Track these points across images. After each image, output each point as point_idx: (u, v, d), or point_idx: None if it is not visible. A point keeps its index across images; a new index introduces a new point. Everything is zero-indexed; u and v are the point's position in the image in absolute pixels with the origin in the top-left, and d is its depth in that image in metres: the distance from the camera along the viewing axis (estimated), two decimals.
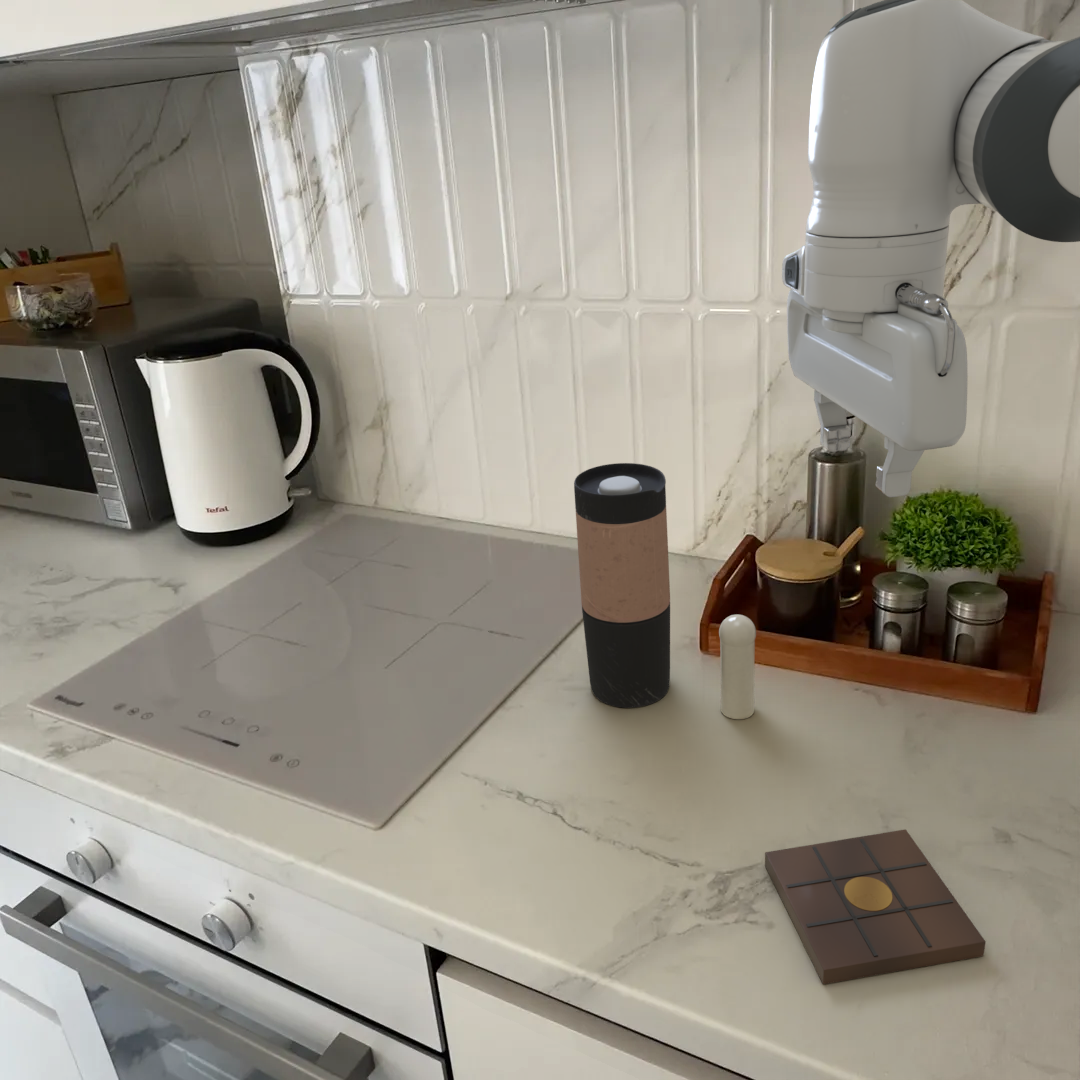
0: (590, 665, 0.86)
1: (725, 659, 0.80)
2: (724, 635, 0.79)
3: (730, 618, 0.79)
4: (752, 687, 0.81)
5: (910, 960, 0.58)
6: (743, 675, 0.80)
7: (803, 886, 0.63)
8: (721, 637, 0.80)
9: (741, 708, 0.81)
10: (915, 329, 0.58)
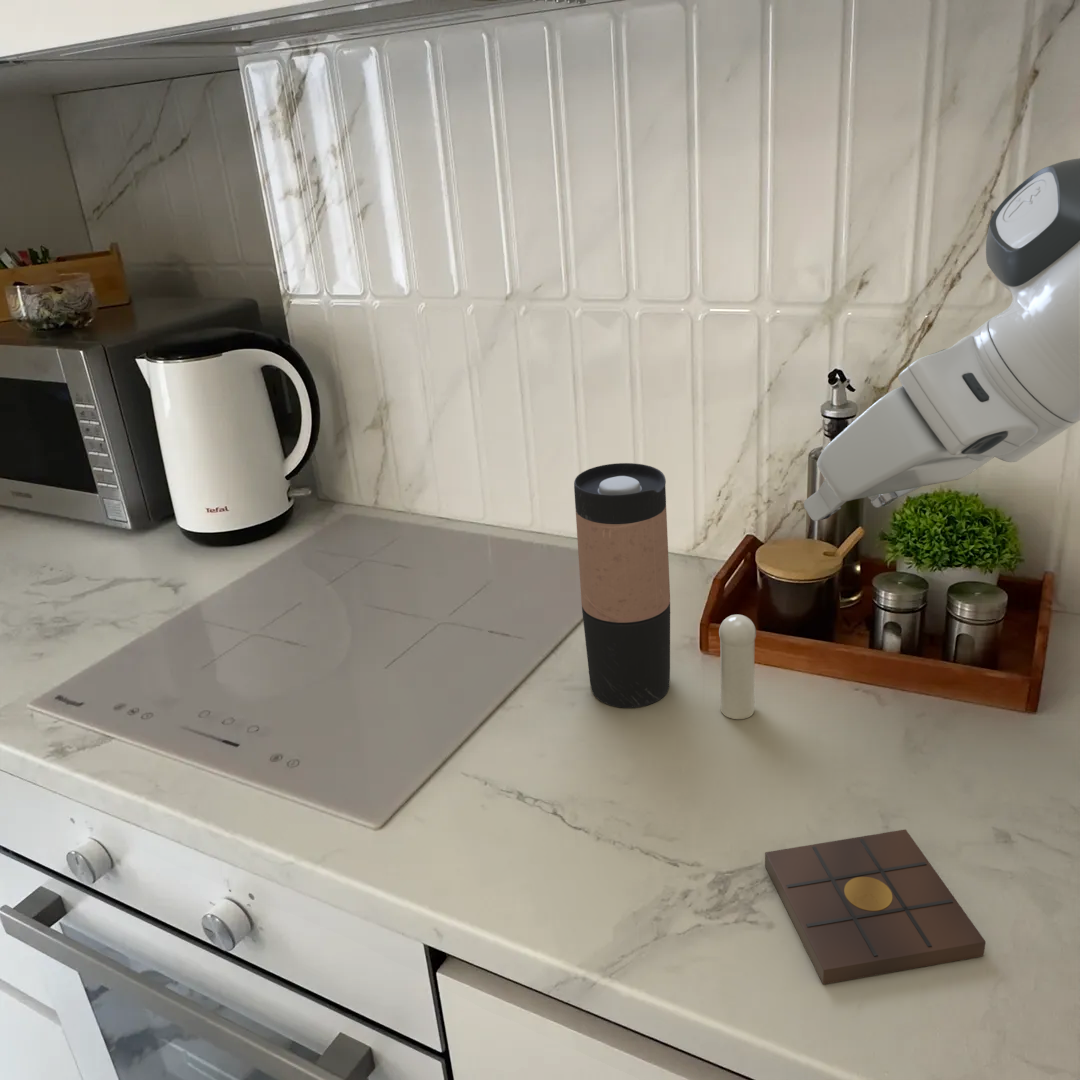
0: (590, 665, 0.86)
1: (725, 659, 0.80)
2: (724, 635, 0.79)
3: (730, 618, 0.79)
4: (752, 687, 0.81)
5: (910, 960, 0.58)
6: (743, 675, 0.80)
7: (803, 886, 0.63)
8: (721, 637, 0.80)
9: (741, 708, 0.81)
10: None
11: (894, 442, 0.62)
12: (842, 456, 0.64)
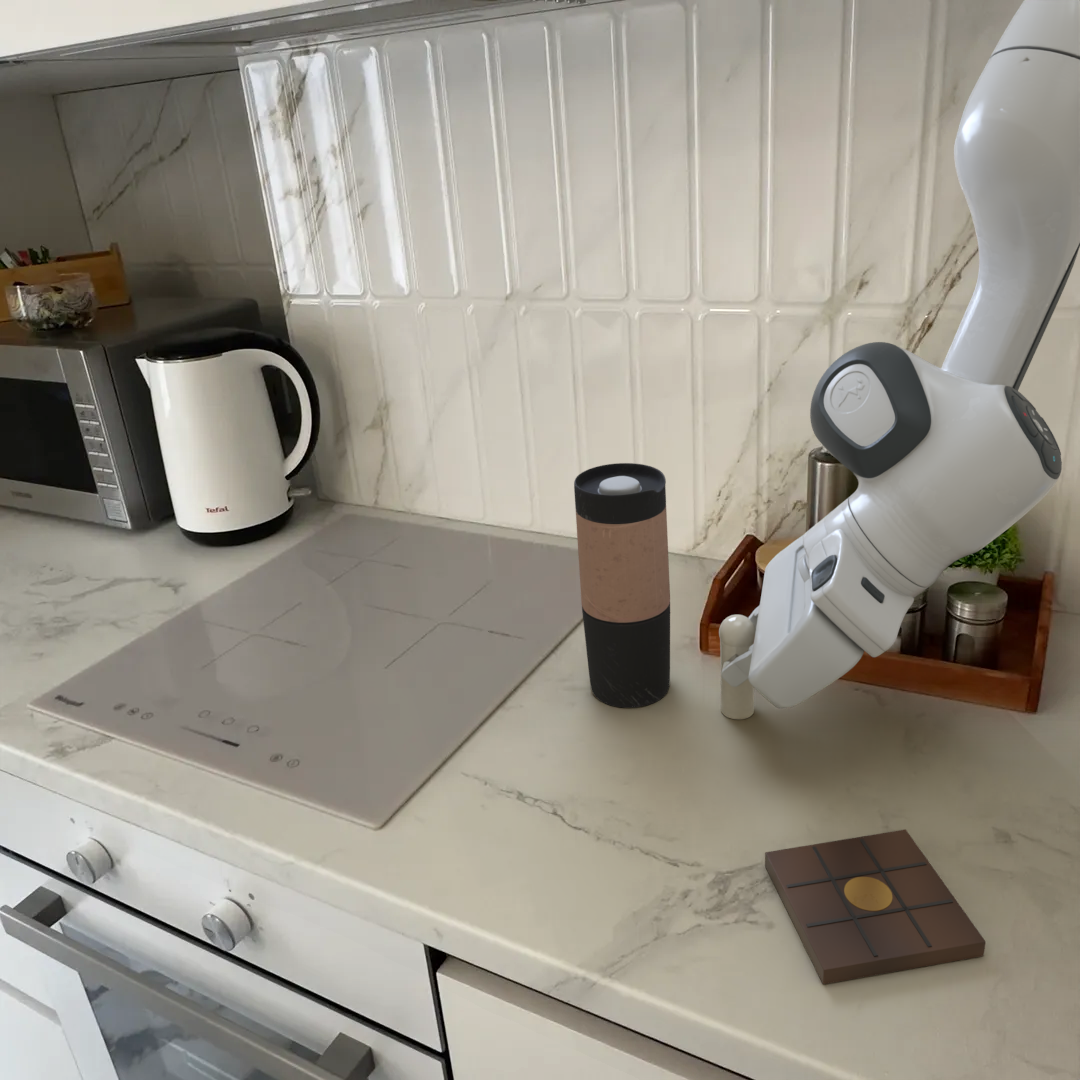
0: (590, 665, 0.86)
1: (725, 659, 0.80)
2: (724, 635, 0.79)
3: (730, 618, 0.79)
4: (752, 687, 0.81)
5: (910, 960, 0.58)
6: None
7: (803, 886, 0.63)
8: (721, 637, 0.80)
9: (741, 708, 0.81)
10: None
11: (826, 660, 0.68)
12: (779, 678, 0.69)
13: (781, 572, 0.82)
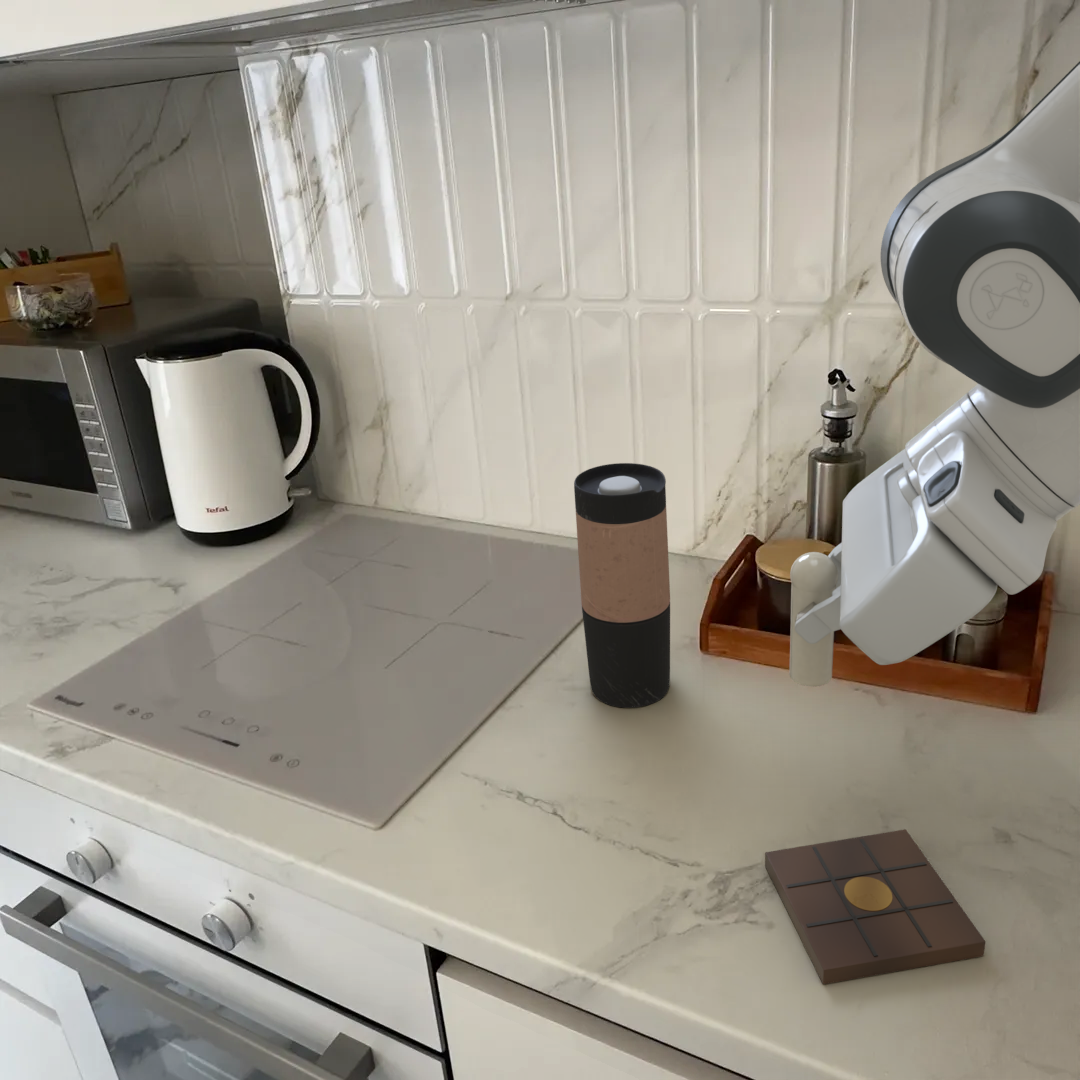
0: (590, 665, 0.86)
1: (798, 608, 0.63)
2: (798, 577, 0.62)
3: (805, 556, 0.62)
4: (831, 645, 0.64)
5: (910, 960, 0.58)
6: None
7: (803, 886, 0.63)
8: (794, 580, 0.63)
9: (817, 672, 0.64)
10: None
11: (949, 598, 0.51)
12: (884, 622, 0.52)
13: (868, 501, 0.65)
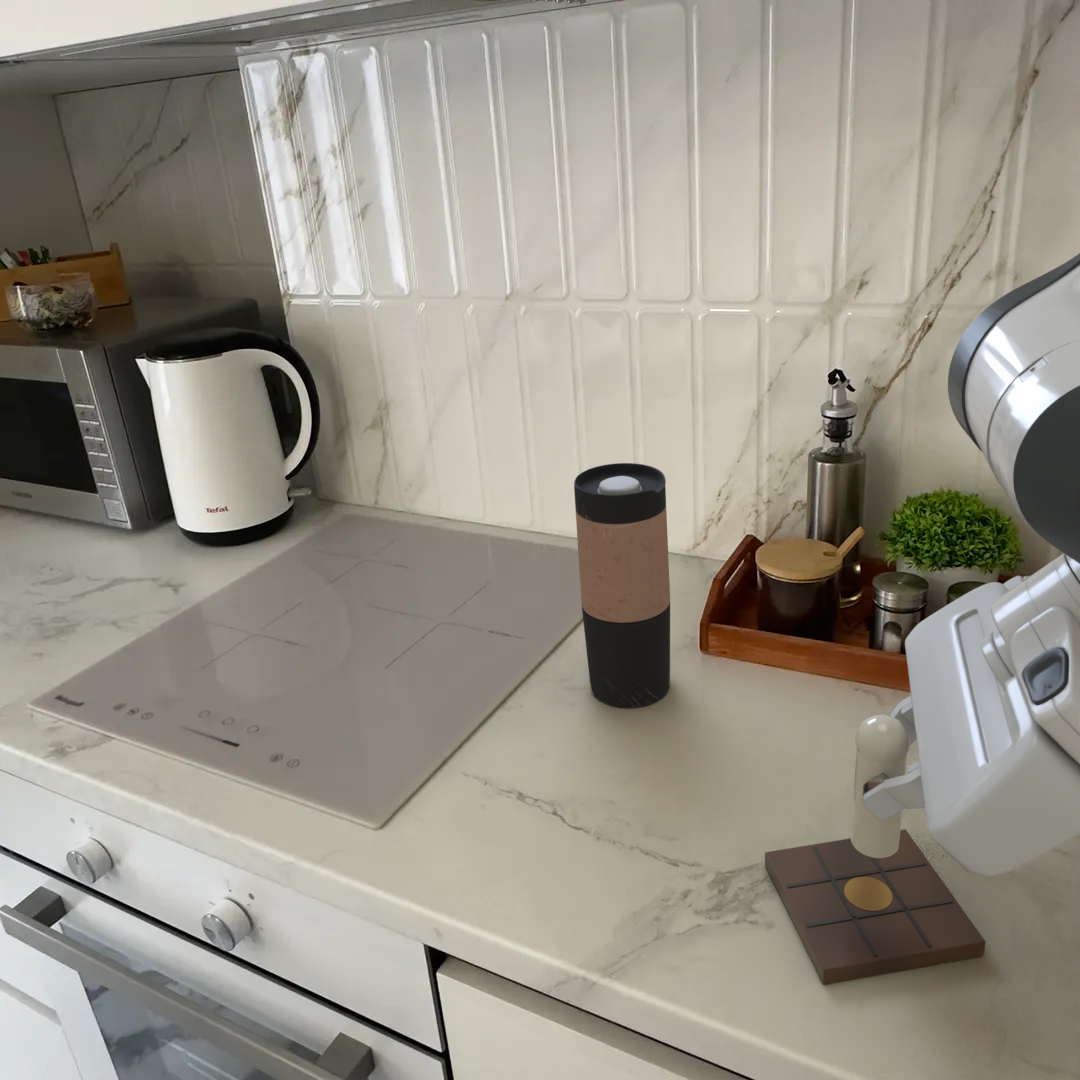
0: (590, 665, 0.86)
1: (864, 777, 0.57)
2: (866, 746, 0.56)
3: (873, 720, 0.56)
4: (900, 815, 0.58)
5: (910, 960, 0.58)
6: None
7: (803, 886, 0.63)
8: (860, 748, 0.56)
9: (884, 844, 0.58)
10: None
11: (1057, 812, 0.45)
12: (982, 835, 0.46)
13: (940, 653, 0.58)
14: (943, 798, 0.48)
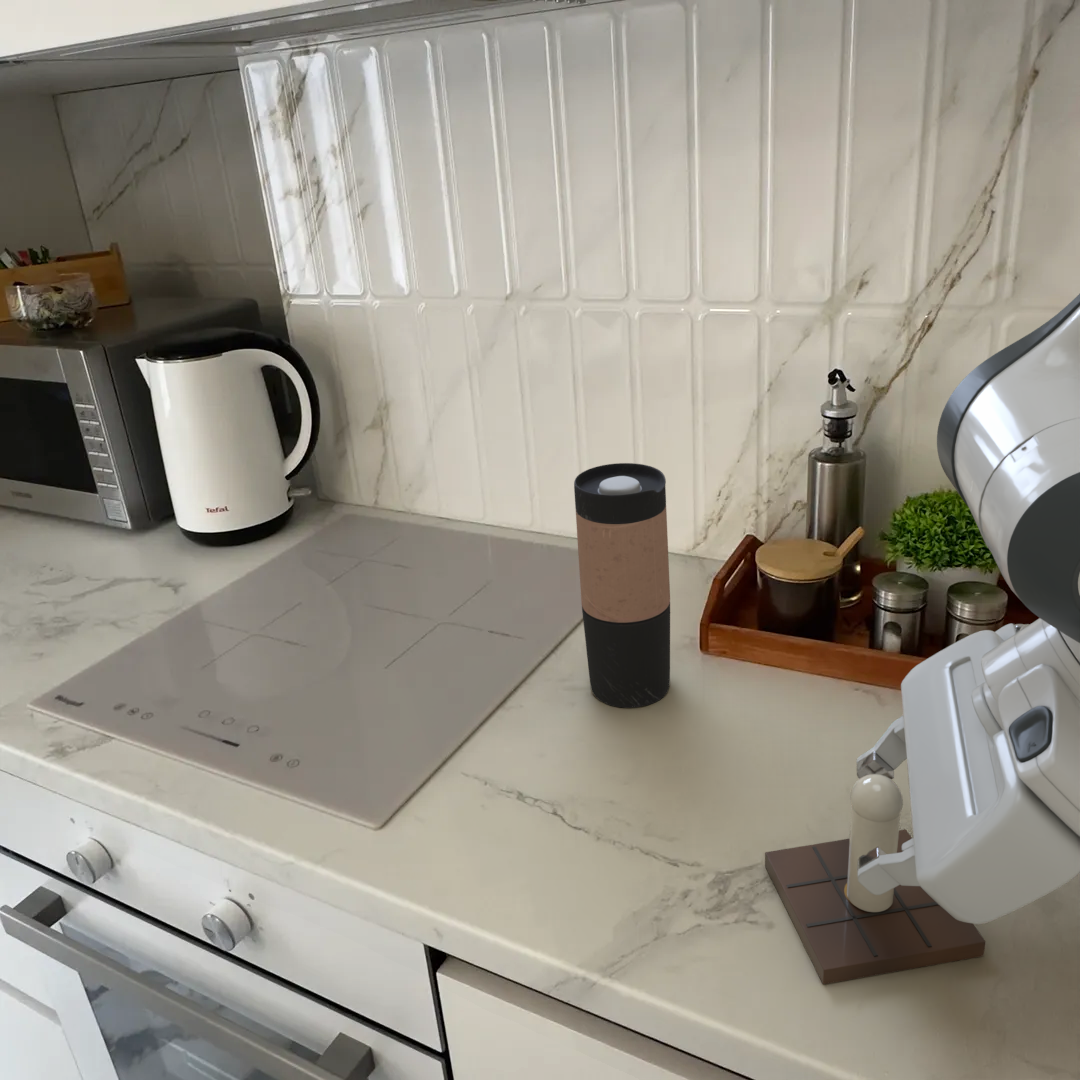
0: (590, 665, 0.86)
1: (859, 835, 0.59)
2: (860, 805, 0.58)
3: (867, 781, 0.58)
4: None
5: (910, 960, 0.58)
6: None
7: (803, 886, 0.63)
8: (855, 807, 0.58)
9: (879, 899, 0.60)
10: None
11: (1040, 865, 0.47)
12: (968, 885, 0.48)
13: (933, 699, 0.60)
14: (932, 848, 0.50)
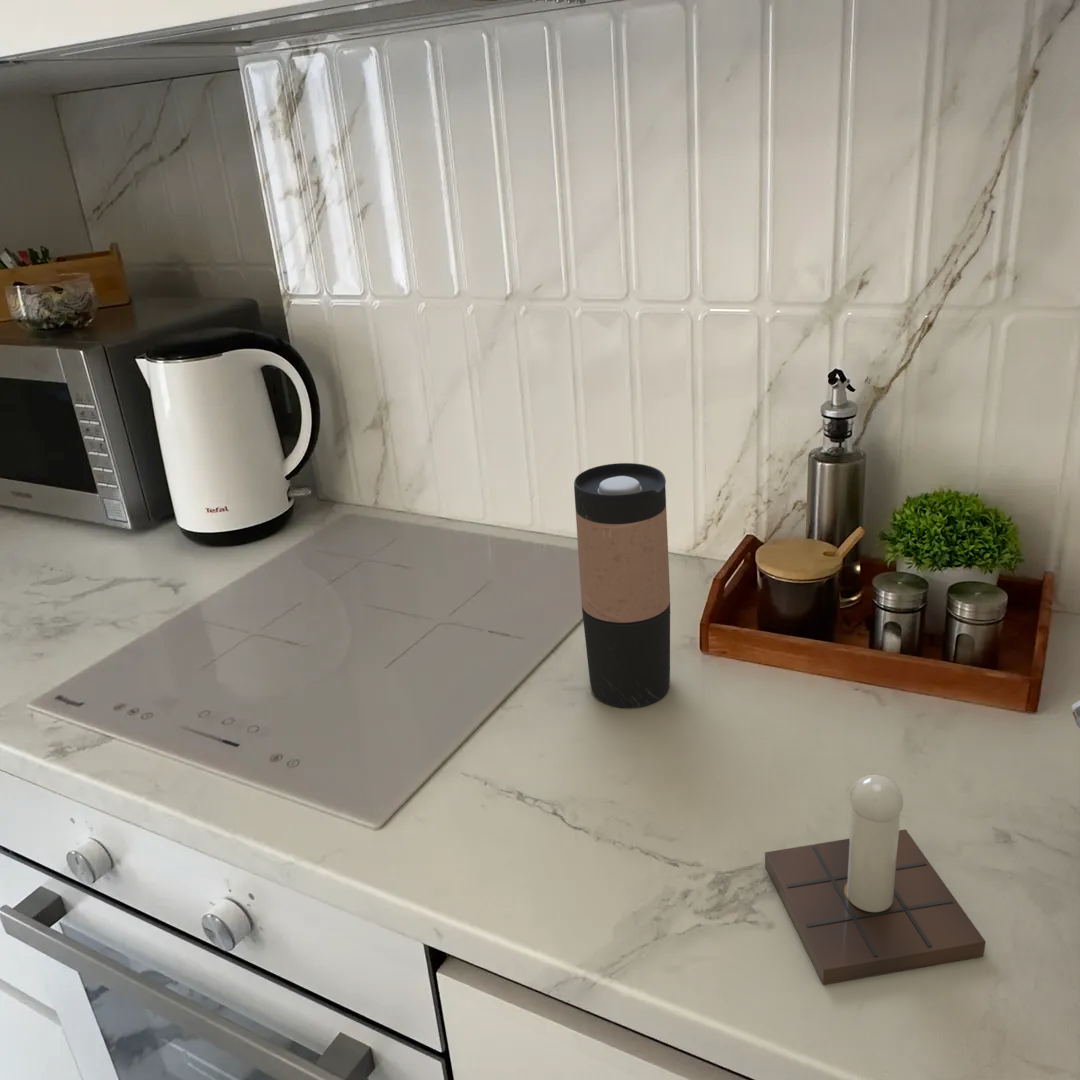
0: (590, 665, 0.86)
1: (859, 835, 0.59)
2: (860, 805, 0.58)
3: (867, 781, 0.58)
4: (894, 871, 0.60)
5: (910, 960, 0.58)
6: (885, 858, 0.59)
7: (803, 886, 0.63)
8: (855, 807, 0.58)
9: (879, 899, 0.60)
10: None
11: None
12: None
13: None
14: None
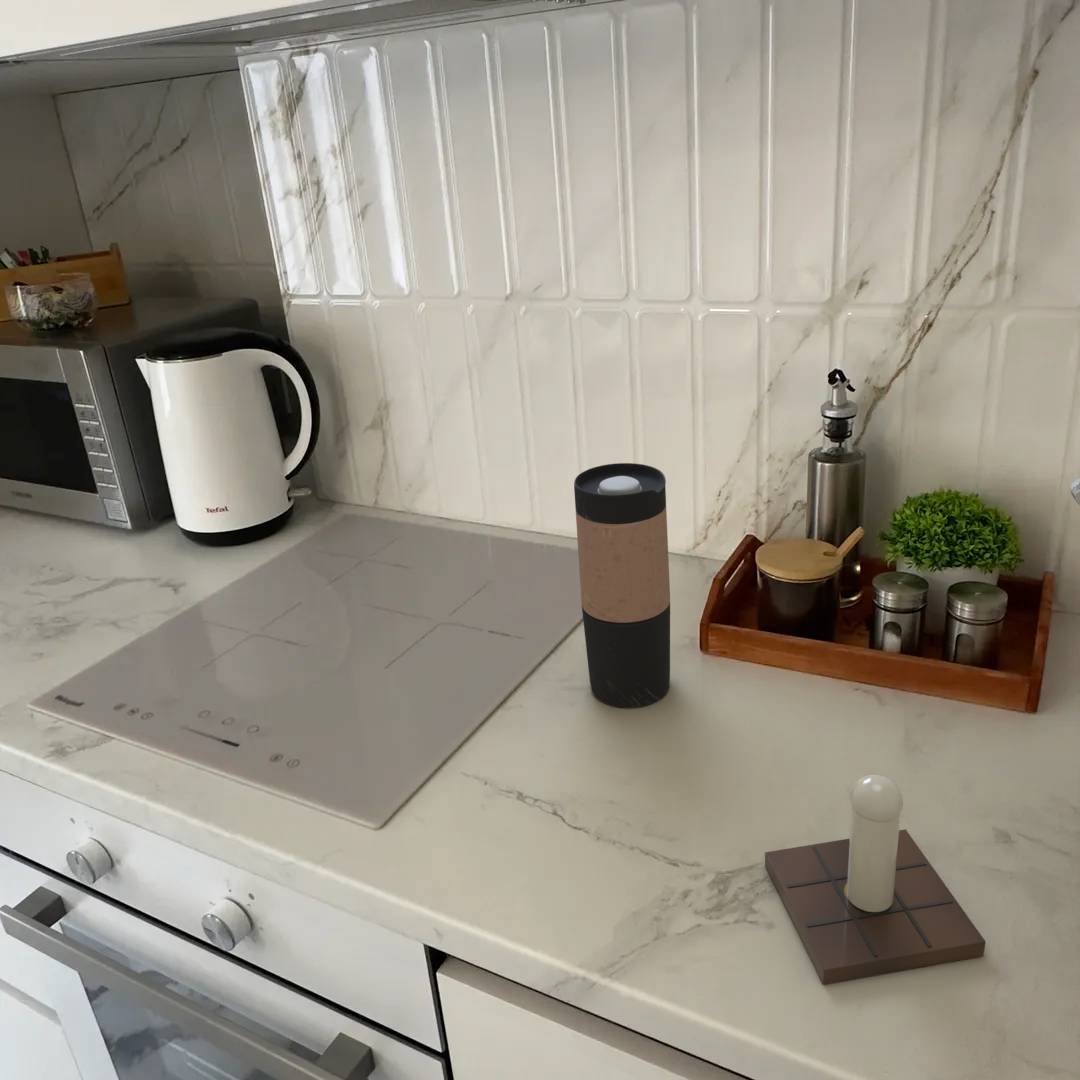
0: (590, 665, 0.86)
1: (859, 835, 0.59)
2: (860, 805, 0.58)
3: (867, 781, 0.58)
4: (894, 871, 0.60)
5: (910, 960, 0.58)
6: (885, 858, 0.59)
7: (803, 886, 0.63)
8: (855, 807, 0.58)
9: (879, 899, 0.60)
10: None
11: None
12: None
13: None
14: None
